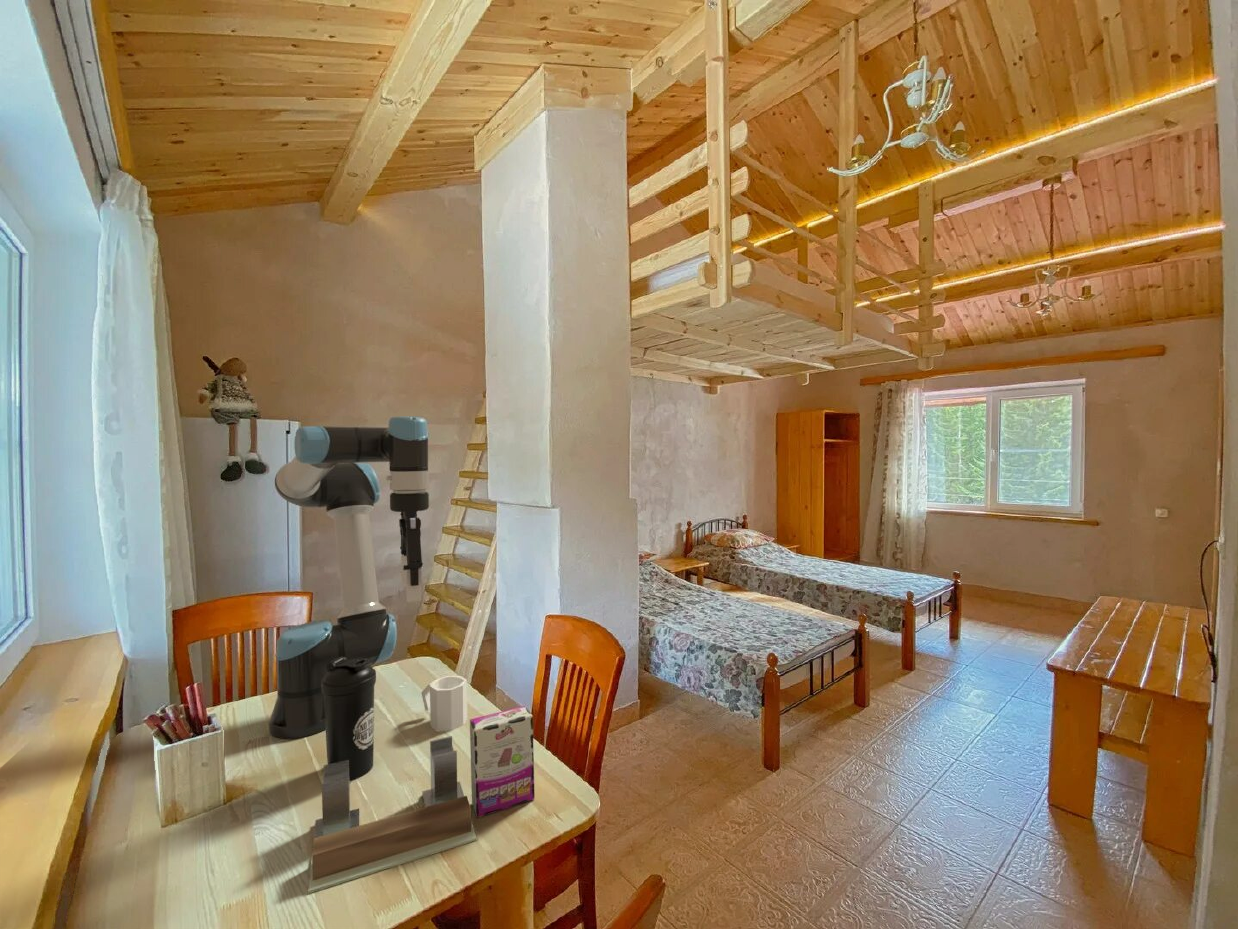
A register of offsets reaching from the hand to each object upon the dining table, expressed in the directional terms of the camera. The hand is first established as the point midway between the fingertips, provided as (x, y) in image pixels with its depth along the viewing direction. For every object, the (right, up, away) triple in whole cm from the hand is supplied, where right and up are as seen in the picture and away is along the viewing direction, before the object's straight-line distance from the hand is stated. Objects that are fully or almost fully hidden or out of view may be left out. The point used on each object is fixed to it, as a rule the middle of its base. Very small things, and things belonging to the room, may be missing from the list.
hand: (411, 592), depth 113 cm
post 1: (-6, -37, -18) cm, 42 cm away
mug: (0, -36, +19) cm, 41 cm away
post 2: (+10, -37, -10) cm, 40 cm away
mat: (+6, -38, -22) cm, 44 cm away
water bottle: (-12, -37, 0) cm, 39 cm away
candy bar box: (+21, -37, -11) cm, 44 cm away
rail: (+6, -37, -22) cm, 44 cm away
